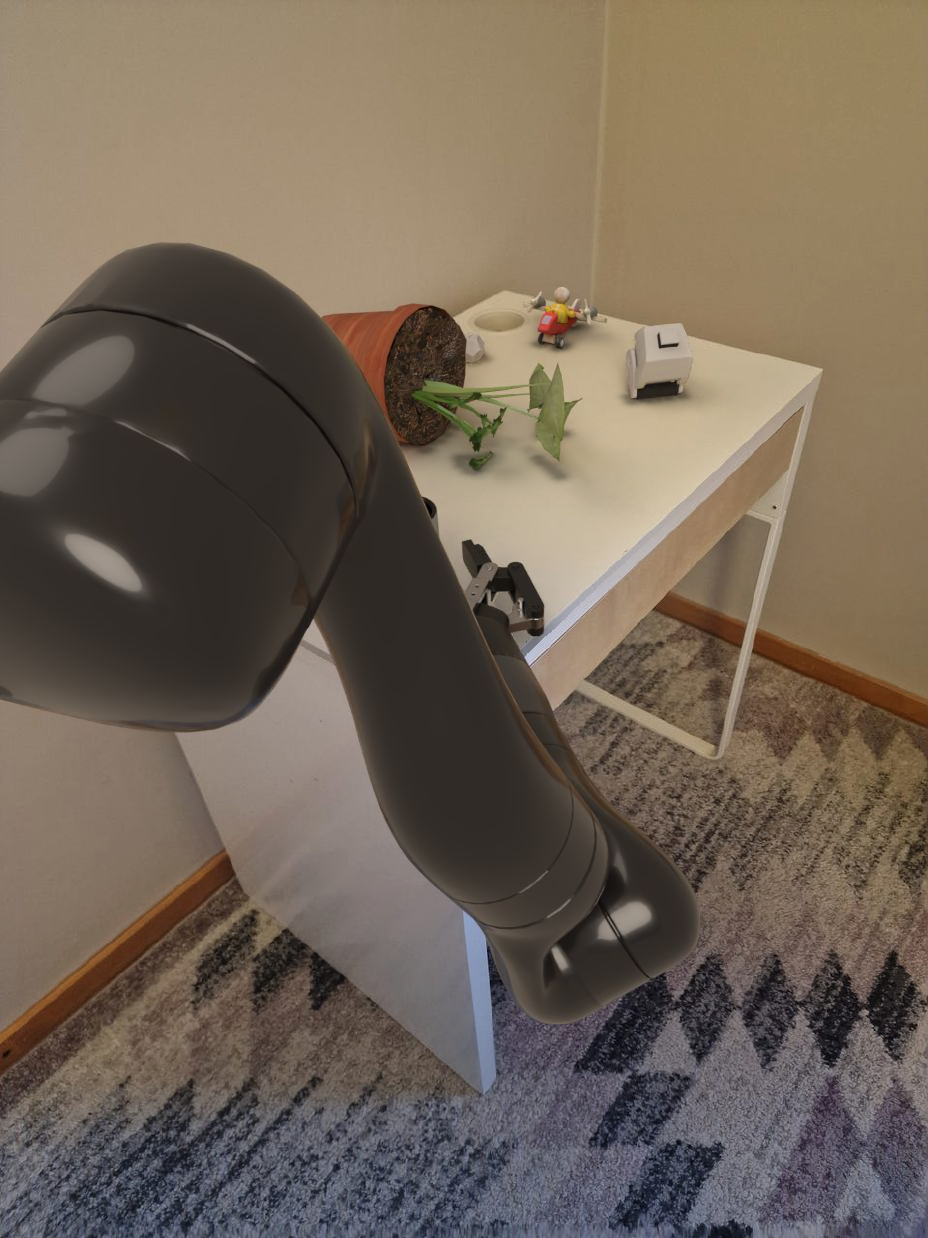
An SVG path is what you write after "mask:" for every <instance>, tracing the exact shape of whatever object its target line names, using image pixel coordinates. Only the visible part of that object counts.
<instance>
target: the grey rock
mask: <svg viewBox="0 0 928 1238" xmlns="http://www.w3.org/2000/svg"><path fill="white" fill-rule="evenodd" d="M464 336H465V338H466V340H467V342H466V353H465V354H466V363H470V364H474V363H476V362H478V361H481V359H482V357H483V355H484V354H485V352H486V347H485V341H484V340H483V338H482V337H481V336H480V334H479V333H474V332H467V333H464Z"/></svg>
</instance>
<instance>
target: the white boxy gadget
mask: <svg viewBox="0 0 928 1238" xmlns="http://www.w3.org/2000/svg"><path fill="white" fill-rule="evenodd" d="M625 357H626V360H625V361H626V375H627V384H628V389H629V395H630V396H629V397H630V398H631V399H636V400H641V399H649V398H661V397H670V396H678V395H679V394H681V393H683V391H684V385H685V384H686V383H687V381H688V379H689V378H690V374H691V371H692V367H693V363H694V353H693V350H692V348H691V345H690V342H689V338H688V334H687V332H686V329H685V327H684V325H683V323H682V322H675V323H664V324H656V325H648V326H647V325H646V326H643V327H641V328H639V329H638V330H636V331H635V333H634V348H629V349H628V350H627V351H626V356H625Z"/></svg>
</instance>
